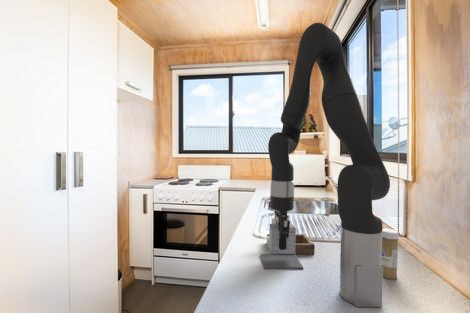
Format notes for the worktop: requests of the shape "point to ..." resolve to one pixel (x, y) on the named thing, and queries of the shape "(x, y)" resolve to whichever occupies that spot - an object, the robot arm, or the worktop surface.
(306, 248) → the walnut cubby
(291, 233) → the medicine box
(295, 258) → the charcoal mat
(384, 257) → the sprinkles bottle
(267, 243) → the sage rake
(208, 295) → the worktop surface
